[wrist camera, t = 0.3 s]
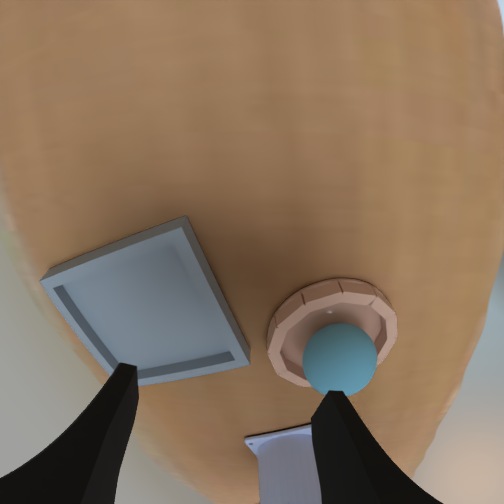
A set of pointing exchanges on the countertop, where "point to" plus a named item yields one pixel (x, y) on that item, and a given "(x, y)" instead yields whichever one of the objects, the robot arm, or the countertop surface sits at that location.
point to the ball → (339, 359)
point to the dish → (327, 321)
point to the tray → (150, 306)
